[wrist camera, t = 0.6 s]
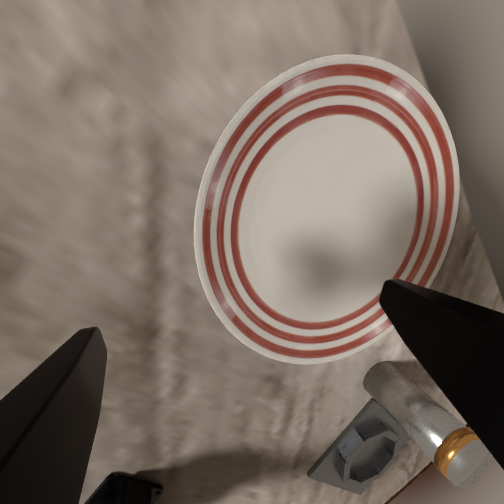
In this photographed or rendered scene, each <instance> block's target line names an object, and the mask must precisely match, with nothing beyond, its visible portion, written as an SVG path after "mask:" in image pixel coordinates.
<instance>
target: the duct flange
mask: <svg viewBox="0 0 504 504" xmlns="http://www.w3.org/2000/svg"><path fill="white" fill-rule="evenodd" d="M409 438H410V437H409V436H408V435H407V434H406V433H405V432H404V430H403V429H402V428H401V427H400V426H399V425H398V424H397V423H396V422H395V421H394V420H393V419H392V418H391V417H390V415H389V414H388V413H387V412H386V411H385V410H384V409H383V408H382V407H381V406H380V405H379V404H378V403H377V402H376V401H375V400H373V399H371V400H370V401H369V402H368V403H367V404H366V406H365V407H364V408H363V409H362V410H361V411H360V413H359V414H358V415H357V416H356V417H355V418H354V420H353V421H352V422H351V423H350V424H349V425H348V427H347V428H346V429H345V430H344V431H343V432H342V433H341V435H340V436H339V437H338V438H337V439H336V440H335V442H334V443H333V444H332V445H331V446H330V447H329V449H328V450H327V451H326V452H325V453H324V454H323V456H322V457H321V458H320V459H319V460H318V461H317V463H316V464H315V465H314V466H313V467H312V468H311V470H310V471H309V472H308V473H307V475H308V477H309V478H312V479H315V480H318V481H321V482H324V483H327V484H330V485H333V486H336V487H339V488H342V489H345V490H348V491H350V492H353V493H356V494H359V495H361V494H362V493H363V491H364V490H365V489H366V488H367V487H368V486H369V484H370V483H371V482H372V481H374V480H376V479H378V478H379V476H380V477H381V476H382V475H383V473H384V472H385V471H386V470H387V469H388V468H389V466H390V465H391V464H392V463H393V462H394V461H395V460H396V457H398V452H399V450H400V449H401V447H402V446H403V445H404V444H405V443H406V442H407V441H408V439H409Z"/></svg>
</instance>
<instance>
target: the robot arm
mask: <svg viewBox="0 0 504 504" xmlns="http://www.w3.org/2000/svg"><path fill="white" fill-rule="evenodd" d="M379 304H380V306H381V308H382V309H383V311H384V312H385V314H386V315H387V317H388V318H389V320H390V321H391V323H392V325H393V326H394V328H395V329H396V331H397V332H398V334H399V335H400V337H401V338H402V340H403V341H404V343H405V344H406V345H407V347H408V348H409V349H410V351H411V352H412V353H413V355H414V356H415V357H416V358H417V360H418V361H419V362H420V364H421V365H422V366H423V367H424V369H425V370H426V371H427V373H428V374H429V375H430V376H431V378H432V379H433V380H434V381H435V383H436V384H437V385H438V387H439V388H440V389H441V390H442V392H443V393H444V394H445V396H446V397H447V398H448V399H449V401H450V402H451V403H452V404H453V406H454V407H455V408H456V410H457V411H458V412H459V413H460V415H461V416H462V417H463V419H464V420H465V421H466V422H467V424H468V425H469V426H470V427H471V429H472V430H473V431H474V433H475V434H476V435H477V436H478V438H479V439H480V440H481V442H482V443H483V444H484V445H485V447H486V448H487V449H488V451H489V452H490V453H491V454H492V456H493V457H494V458H495V459H496V461H497V462H498V463H499V464H500V466H501V467H502V468H503V470H504V313H501V312H498V311H495V310H492V309H489V308H486V307H483V306H480V305H477V304H474V303H471V302H468V301H465V300H462V299H459V298H456V297H453V296H449V295H446V294H443V293H440V292H437V291H434V290H431V289H428V288H425V287H422V286H419V285H416V284H413V283H410V282H407V281H404V280H401V279H397V278H395V279H389V280H386V281H385V282H384V284H383V287H382V290H381V294H380V297H379ZM106 362H107V349H106V346H105V343H104V340H103V337H102V334H101V331H100V329H99V328H98V327H90V328H84V329H80V330H79V331H77V332H76V333H75V334H74V335H73V336H72V337H71V338H70V339H68V340H67V341H66V342H65V343H64V344H63V345H62V346H61V347H60V348H58V349H57V350H56V351H55V352H54V353H53V354H52V355H51V356H49V357H48V358H47V359H46V360H45V361H44V362H43V363H42V364H41V365H39V366H38V367H37V368H36V369H35V370H34V371H33V372H32V373H30V374H29V375H28V376H27V377H26V378H25V379H24V380H23V381H22V382H20V383H19V384H18V385H17V386H16V387H15V388H14V389H13V390H11V391H10V392H9V393H8V394H7V395H6V396H5V397H4V398H3V399H1V400H0V504H79V500H80V495H81V491H82V487H83V483H84V479H85V475H86V470H87V466H88V462H89V458H90V454H91V450H92V446H93V441H94V437H95V433H96V429H97V425H98V420H99V415H100V409H101V402H102V394H103V386H104V378H105V370H106ZM162 493H163V486H161V485H158V484H153V483H149V482H144V481H140V480H135V479H131V478H126V477H122V476H117V475H109V476H108V477H106V479H105V480H104V481H103V482H102V483H101V485H100V486H99V487H98V488H97V489H96V490H95V492H94V493H93V494H92V495H91V496H90V497H89V499H88V500H87V501H86V502H85V503H84V504H154V502H155V501H156V500H157V499H158V498H159V497H160V495H161V494H162Z"/></svg>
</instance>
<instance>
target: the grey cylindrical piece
mask: <svg viewBox="0 0 504 504" xmlns="http://www.w3.org/2000/svg"><path fill="white" fill-rule="evenodd" d="M363 385H364V388H365V390H366V391H367V392H368V393H369V394H370V395H371V396H372V397H373V398H374V399H375V400H376V402H377V403H378V404H379V405H380V406H381V407H382V408H383V409H384V410H385V411H386V412H387V413H388V414H389V415H390V417H391V418H392V419H393V420H394V421H395V422H396V423H397V424H398V425H399V426H400V427H401V428H402V429H403V430H404V432H405V433H406V434H407V435H408V436H409V437H410V438H411V439H412V440H413V441H414V442H415V443H416V444H417V445H418V447H419V448H420V449H421V450H422V451H423V452H424V453H425V454H426V455H427V456H428V457H429V458H430V459H431V460H432V462H433V463H434V465H435V466H436V467H437V468H438V469H439V470H440V472H441V473H442V474H443V475H444V476H445V477H446V478H447V479H448V480H450V481H451V482H452V483H453V484H454V485H455V486H456V487H457V488H460V489H461V488H465V487H467V486H469V485H471V484H472V483H474V482H475V481H476V480H477V479H478V478H479V477H480V476H481V475H482V474H483V473H484V472H485V471H486V469H487V468H488V466H489V465H490V463H491V461H492V459H493V456H492V454H491V453H490V452H489V451H488V449H487V448H486V447H485V445H484V444H483V443H482V442H481V440H480V439H479V438H478V436H477V435H476V434H475V433H474V431H472V430H471V429H470V428H468V427H466V426H465V425H464V424H462V423H461V422H460V421H459V420H458V419H456V418H455V417H454V416H453V415H452V414H451V413H449V412H448V411H447V410H446V409H445V408H443V407H442V406H441V405H440V404H439V403H437V402H436V401H435V400H434V399H433V398H431V397H430V396H429V395H428V394H427V393H425V392H424V391H423V390H422V389H421V388H420V387H418V386H417V385H416V384H415V383H414V382H412V381H411V380H410V379H409V378H408V377H406V376H405V375H404V374H403V373H402V372H400V371H399V370H398V369H397V368H396V367H395V366H393V365H392V364H391V363H390V362H387V361H383V362H380V363H377V364H376V365H374V366H373V367H372V368H371V369H370V370H369V371H368V372H367V374H366V376H365V378H364V383H363Z"/></svg>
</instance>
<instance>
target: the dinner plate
mask: <svg viewBox="0 0 504 504" xmlns="http://www.w3.org/2000/svg"><path fill="white" fill-rule="evenodd" d="M458 204H459V167H458V161H457V154H456V149H455V145H454V141H453V138H452V135H451V132H450V129H449V127H448V124H447V122H446V120H445V118H444V116H443V114H442V112H441V110H440V108H439V106H438V105H437V103H436V102H435V100H434V99H433V97H432V96H431V95H430V94H429V92H428V91H427V90H426V89H425V88H424V87H423V86H422V85H421V84H420V83H419V82H418V81H417V80H416V79H415V78H414V77H412V76H411V75H410V74H408V73H407V72H405V71H404V70H402V69H401V68H399V67H397V66H395V65H393V64H391V63H389V62H386V61H384V60H381V59H378V58H373V57H369V56H363V55H353V54H343V55H331V56H325V57H320V58H316V59H313V60H309V61H306V62H304V63H302V64H299V65H297V66H294V67H292V68H290V69H288V70H286V71H285V72H283V73H281V74H279V75H278V76H276V77H275V78H273V79H272V80H270V81H269V82H268V83H266V84H265V85H264V86H263V87H261V88H260V89H259V90H258V91H256V92H255V93H254V94H253V95H252V96H251V97H250V98H249V99H248V100H247V101H246V103H244V104H243V106H242V107H241V108H240V109H239V110H238V111H237V113H236V114H235V115H234V117H233V118H232V119H231V121H230V122H229V124H228V125H227V127H226V128H225V130H224V131H223V133H222V135H221V136H220V138H219V140H218V142H217V144H216V146H215V147H214V150H213V152H212V154H211V156H210V158H209V161H208V163H207V166H206V168H205V171H204V174H203V178H202V181H201V185H200V188H199V192H198V197H197V202H196V209H195V218H194V250H195V258H196V263H197V268H198V273H199V277H200V280H201V283H202V286H203V289H204V292H205V294H206V296H207V299H208V301H209V303H210V305H211V306H212V308H213V310H214V312H215V313H216V315H217V316H218V318H219V319H220V320H221V322H222V323H223V324H224V325H225V327H226V328H227V329H228V330H229V331H230V332H231V333H232V334H233V335H234V336H235V337H236V338H237V339H238V340H239V341H241V342H242V343H243V344H245V345H246V346H248V347H249V348H251V349H252V350H254V351H256V352H258V353H259V354H262V355H264V356H266V357H268V358H271V359H274V360H278V361H282V362H286V363H292V364H320V363H326V362H331V361H335V360H339V359H342V358H345V357H348V356H350V355H353V354H355V353H357V352H359V351H361V350H363V349H365V348H367V347H369V346H371V345H372V344H374V343H376V342H377V341H379V340H380V339H381V338H383V337H384V336H386V335H387V334H388V333H389V332H391V331H392V330H393V329H394V326H393V325H392V323H391V321H390V320H389V318H388V317H387V315H386V314H385V312H384V311H383V309H382V308H381V306H380V304H379V297H380V294H381V290H382V287H383V284H384V282H385V281H386V280H389V279H395V278H397V279H401V280H404V281H407V282H410V283H413V284H416V285H419V286H422V287H425V288H428V289H429V287H430V286H431V284H432V282H433V281H434V279H435V277H436V275H437V273H438V272H439V270H440V267H441V265H442V263H443V261H444V258H445V256H446V254H447V251H448V248H449V245H450V242H451V238H452V235H453V231H454V227H455V223H456V217H457V211H458Z"/></svg>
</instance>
